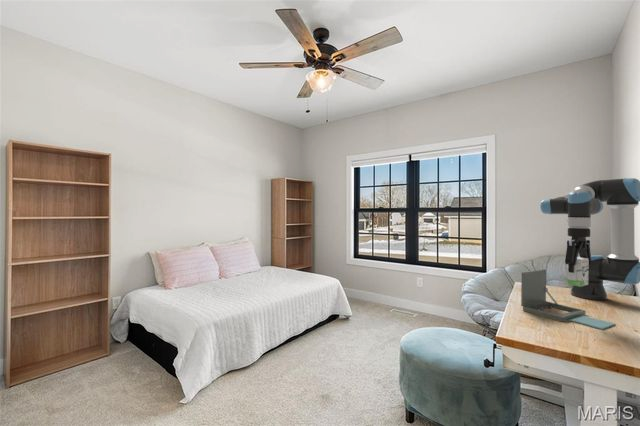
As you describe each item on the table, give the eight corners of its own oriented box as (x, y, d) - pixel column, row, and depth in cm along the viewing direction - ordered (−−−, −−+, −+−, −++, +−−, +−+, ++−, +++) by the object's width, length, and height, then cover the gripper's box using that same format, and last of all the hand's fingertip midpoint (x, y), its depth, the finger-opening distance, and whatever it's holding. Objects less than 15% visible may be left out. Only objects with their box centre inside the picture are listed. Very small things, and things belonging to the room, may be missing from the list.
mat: (582, 316, 133) (582, 315, 133) (615, 325, 124) (615, 323, 124) (569, 320, 128) (569, 319, 128) (602, 329, 118) (602, 328, 118)
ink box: (581, 287, 125) (581, 259, 125) (567, 284, 130) (567, 257, 130) (588, 284, 130) (589, 257, 130) (574, 282, 134) (574, 256, 134)
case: (544, 304, 151) (544, 269, 151) (585, 314, 136) (586, 275, 136) (521, 310, 141) (521, 272, 141) (562, 321, 126) (563, 279, 126)
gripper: (581, 227, 138) (580, 275, 138) (555, 227, 129) (554, 279, 129) (602, 227, 131) (601, 278, 131) (575, 228, 122) (575, 283, 122)
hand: (578, 279), depth 130 cm, fingers closed on ink box, 9 cm apart
